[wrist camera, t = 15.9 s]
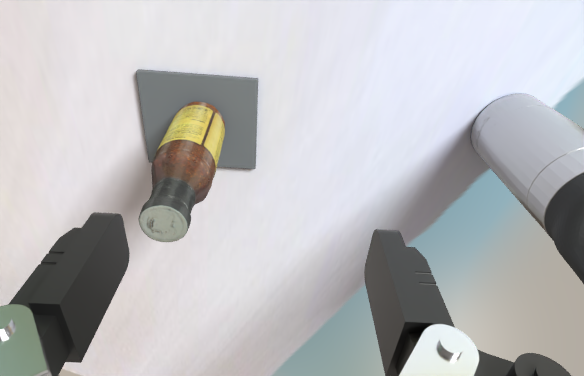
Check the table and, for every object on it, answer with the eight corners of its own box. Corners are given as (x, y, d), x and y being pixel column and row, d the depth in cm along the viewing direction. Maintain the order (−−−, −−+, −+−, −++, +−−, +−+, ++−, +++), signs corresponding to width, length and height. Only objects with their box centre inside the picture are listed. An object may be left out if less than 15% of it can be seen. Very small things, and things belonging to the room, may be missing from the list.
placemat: (258, 78, 46) (257, 80, 45) (255, 166, 52) (255, 169, 52) (138, 69, 45) (136, 71, 45) (150, 159, 52) (149, 162, 51)
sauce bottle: (166, 123, 48) (101, 222, 32) (197, 88, 46) (144, 175, 29) (208, 155, 51) (168, 263, 34) (239, 124, 48) (212, 223, 32)
